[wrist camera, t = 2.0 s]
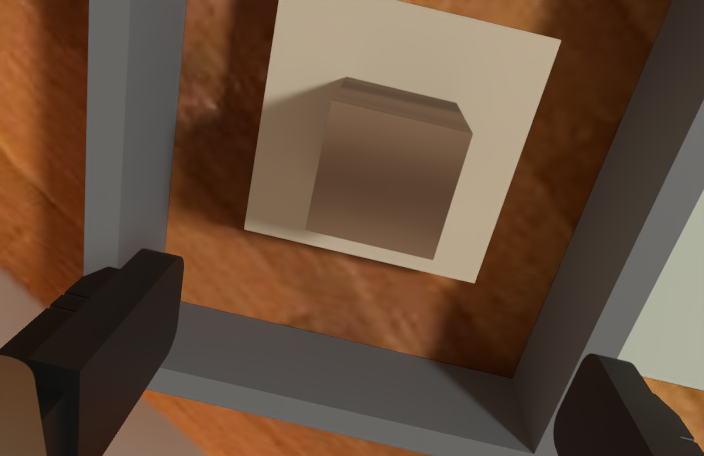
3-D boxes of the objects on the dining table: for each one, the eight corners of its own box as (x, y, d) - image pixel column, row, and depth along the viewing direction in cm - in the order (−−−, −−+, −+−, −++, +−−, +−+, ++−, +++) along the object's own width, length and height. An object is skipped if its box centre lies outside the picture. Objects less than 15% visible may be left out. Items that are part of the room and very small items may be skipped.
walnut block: (347, 76, 24) (331, 100, 19) (456, 103, 24) (473, 134, 19) (325, 180, 26) (305, 230, 21) (426, 205, 26) (433, 260, 21)
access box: (173, -298, 22) (97, -398, 16) (777, -150, 22) (902, -199, 17) (133, 312, 34) (81, 374, 28) (528, 404, 34) (553, 483, 28)
